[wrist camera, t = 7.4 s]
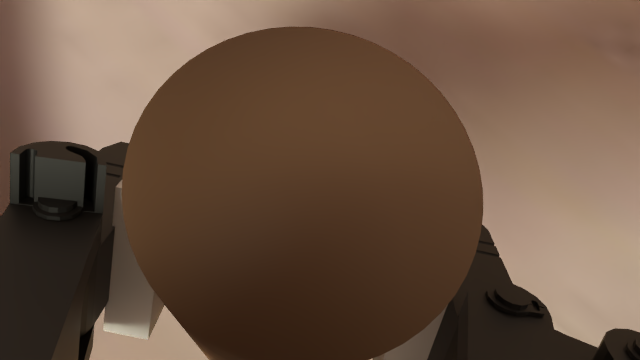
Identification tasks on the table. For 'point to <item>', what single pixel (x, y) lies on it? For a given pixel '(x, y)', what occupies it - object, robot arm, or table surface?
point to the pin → (301, 197)
